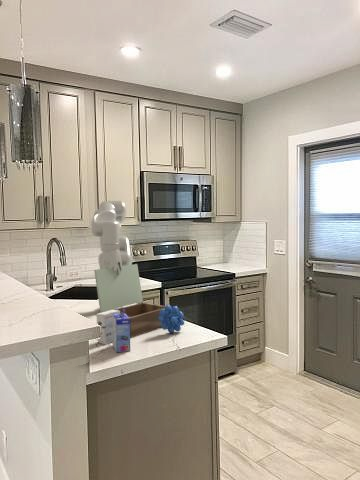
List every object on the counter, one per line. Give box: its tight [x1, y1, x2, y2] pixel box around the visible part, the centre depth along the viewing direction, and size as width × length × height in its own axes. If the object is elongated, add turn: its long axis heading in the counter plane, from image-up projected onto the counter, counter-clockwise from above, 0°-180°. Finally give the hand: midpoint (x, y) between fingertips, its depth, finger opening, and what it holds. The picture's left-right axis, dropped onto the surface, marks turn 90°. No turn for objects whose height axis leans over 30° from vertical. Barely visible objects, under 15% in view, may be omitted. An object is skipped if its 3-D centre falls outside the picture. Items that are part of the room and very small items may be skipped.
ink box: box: [96, 310, 120, 345], centre depth 156 cm, size 9×5×12 cm, turn 141°
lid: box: [93, 263, 144, 313], centre depth 182 cm, size 19×25×2 cm
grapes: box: [158, 304, 185, 334], centre depth 164 cm, size 12×7×12 cm, turn 113°
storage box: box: [115, 302, 166, 339], centre depth 175 cm, size 18×24×8 cm
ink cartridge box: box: [112, 309, 131, 353], centre depth 147 cm, size 10×6×14 cm, turn 17°
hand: (112, 286), depth 185 cm, fingers closed
